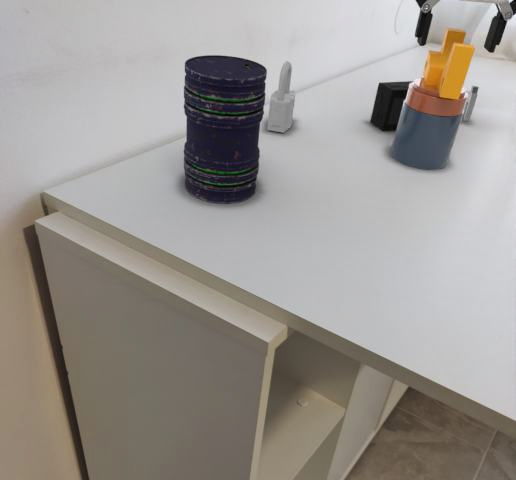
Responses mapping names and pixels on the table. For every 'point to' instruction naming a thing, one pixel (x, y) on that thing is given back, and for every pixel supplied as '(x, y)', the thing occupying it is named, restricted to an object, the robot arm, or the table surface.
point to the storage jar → (223, 127)
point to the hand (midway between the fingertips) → (454, 47)
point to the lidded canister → (427, 126)
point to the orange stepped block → (449, 64)
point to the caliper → (470, 103)
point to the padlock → (282, 102)
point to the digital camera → (389, 104)
